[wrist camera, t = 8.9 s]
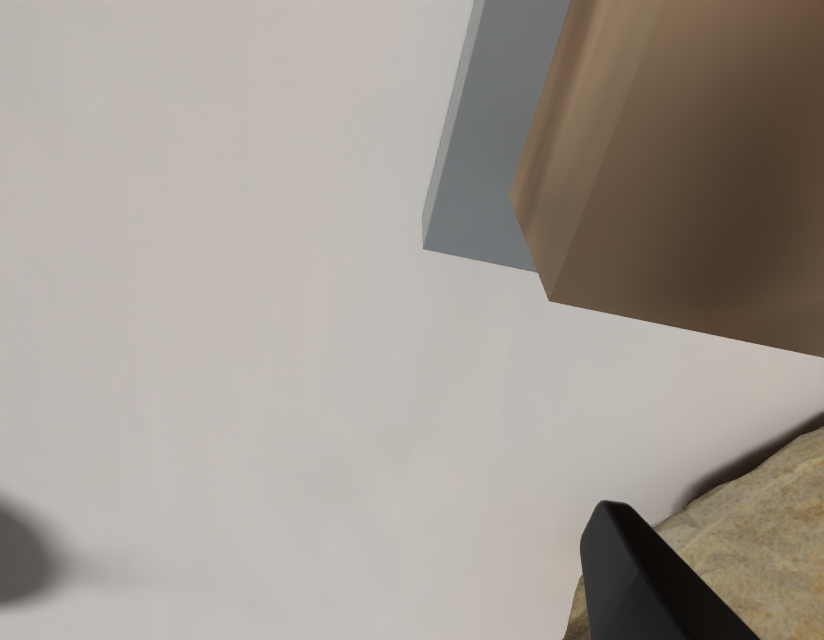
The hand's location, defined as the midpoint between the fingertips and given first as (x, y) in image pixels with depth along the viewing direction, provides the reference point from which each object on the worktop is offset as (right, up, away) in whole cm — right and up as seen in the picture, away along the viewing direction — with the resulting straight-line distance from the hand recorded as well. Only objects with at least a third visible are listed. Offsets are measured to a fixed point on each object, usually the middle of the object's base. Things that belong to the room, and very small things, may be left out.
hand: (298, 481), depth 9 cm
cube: (+8, +8, +7) cm, 13 cm away
